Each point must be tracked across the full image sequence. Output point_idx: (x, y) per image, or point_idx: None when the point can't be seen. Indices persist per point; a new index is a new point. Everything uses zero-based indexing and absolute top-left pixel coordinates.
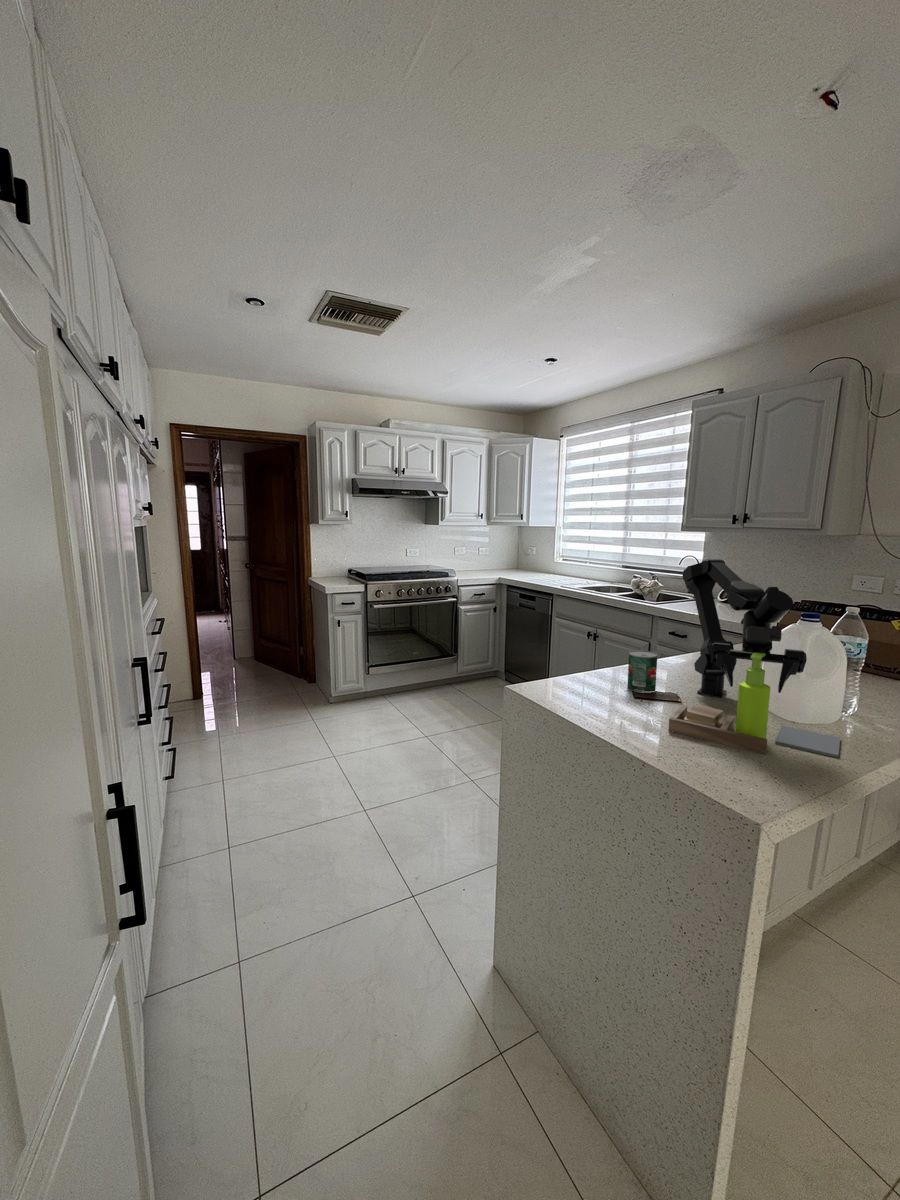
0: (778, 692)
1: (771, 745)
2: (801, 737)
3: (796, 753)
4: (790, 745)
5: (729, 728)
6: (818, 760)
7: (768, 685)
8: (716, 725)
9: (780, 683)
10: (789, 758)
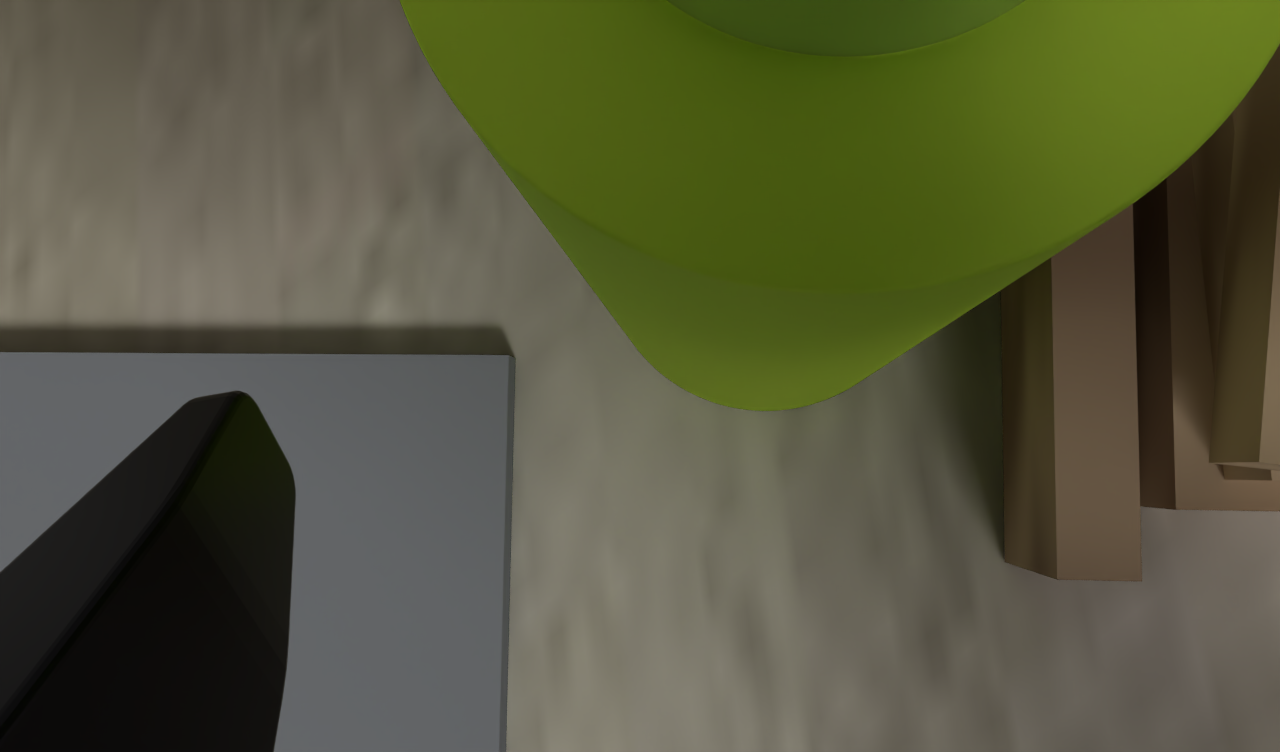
0: (285, 464)
1: (544, 277)
2: None
3: (303, 213)
4: (360, 357)
5: None
6: (113, 164)
7: (448, 77)
8: (1206, 272)
9: (118, 531)
10: (356, 27)
